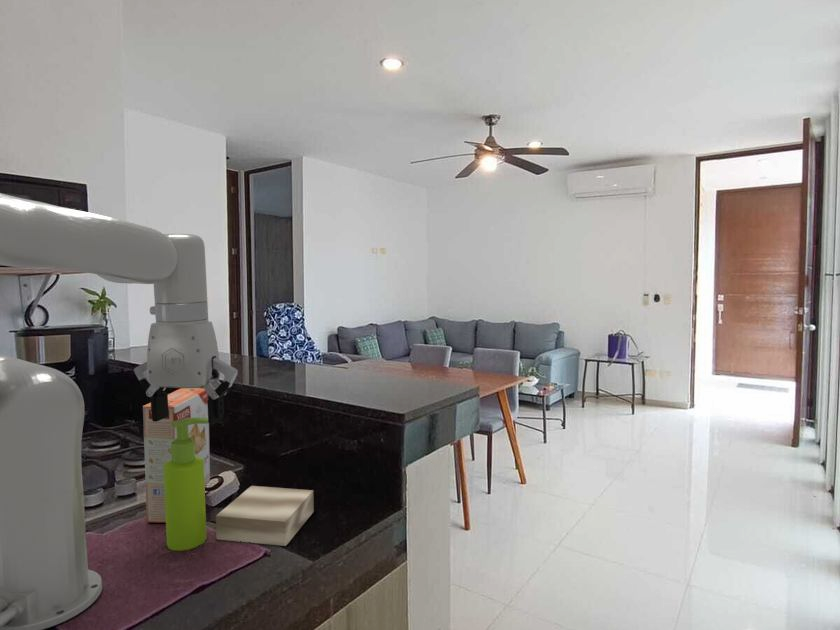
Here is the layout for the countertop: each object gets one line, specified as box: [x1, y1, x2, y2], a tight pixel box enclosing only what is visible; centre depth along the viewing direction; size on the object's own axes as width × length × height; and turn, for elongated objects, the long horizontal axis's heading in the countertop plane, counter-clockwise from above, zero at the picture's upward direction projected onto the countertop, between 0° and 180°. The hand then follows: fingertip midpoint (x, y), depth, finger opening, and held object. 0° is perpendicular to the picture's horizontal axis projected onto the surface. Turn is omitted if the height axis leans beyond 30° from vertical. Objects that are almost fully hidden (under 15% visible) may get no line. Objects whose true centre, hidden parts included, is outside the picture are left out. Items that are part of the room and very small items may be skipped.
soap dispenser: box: [163, 417, 208, 552], centre depth 85 cm, size 6×7×20 cm
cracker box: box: [142, 387, 211, 524], centre depth 97 cm, size 14×6×21 cm, turn 179°
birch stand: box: [215, 485, 315, 547], centre depth 91 cm, size 12×12×4 cm
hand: (188, 420), depth 84 cm, fingers open, 9 cm apart
